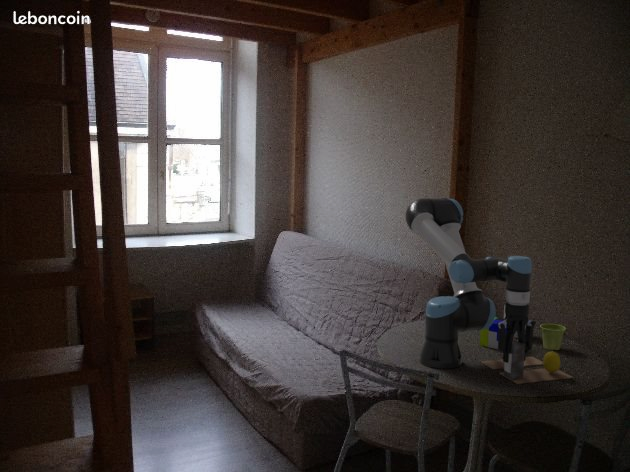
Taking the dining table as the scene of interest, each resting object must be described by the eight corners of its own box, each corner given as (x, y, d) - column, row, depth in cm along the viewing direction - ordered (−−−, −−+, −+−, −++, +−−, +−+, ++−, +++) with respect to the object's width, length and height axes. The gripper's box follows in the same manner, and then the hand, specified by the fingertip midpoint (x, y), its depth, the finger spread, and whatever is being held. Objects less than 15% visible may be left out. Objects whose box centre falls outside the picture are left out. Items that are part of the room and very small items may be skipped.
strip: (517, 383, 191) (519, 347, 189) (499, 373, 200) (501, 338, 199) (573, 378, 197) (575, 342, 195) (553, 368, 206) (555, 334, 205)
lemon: (555, 370, 203) (557, 348, 202) (562, 376, 197) (563, 353, 196) (539, 370, 203) (541, 348, 202) (545, 376, 197) (547, 353, 196)
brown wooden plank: (492, 369, 204) (492, 368, 204) (480, 362, 212) (480, 361, 212) (546, 364, 210) (546, 363, 210) (532, 357, 218) (532, 356, 218)
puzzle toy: (504, 350, 226) (505, 325, 225) (479, 345, 232) (480, 321, 231) (513, 344, 234) (514, 320, 233) (488, 339, 240) (490, 316, 239)
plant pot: (556, 353, 223) (558, 331, 222) (534, 347, 230) (535, 326, 229) (569, 349, 229) (570, 327, 228) (546, 343, 236) (547, 322, 235)
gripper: (501, 306, 187) (497, 376, 190) (546, 304, 192) (542, 372, 195) (488, 301, 194) (485, 369, 197) (532, 299, 199) (528, 365, 202)
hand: (513, 370), depth 196 cm, fingers closed on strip, 4 cm apart
